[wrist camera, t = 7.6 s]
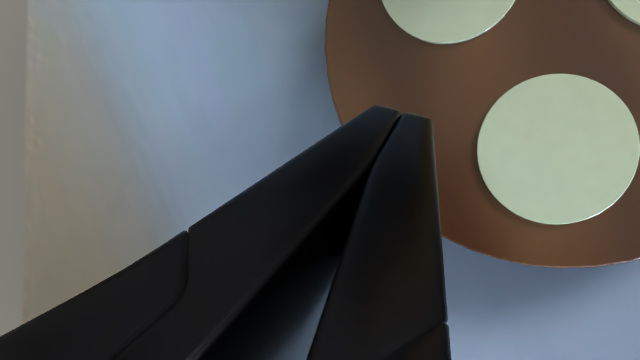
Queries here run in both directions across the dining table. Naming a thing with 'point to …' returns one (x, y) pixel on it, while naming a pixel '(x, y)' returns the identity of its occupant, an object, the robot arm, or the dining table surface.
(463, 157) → the joystick with buttons
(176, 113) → the dining table surface
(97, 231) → the dining table surface
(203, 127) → the dining table surface
